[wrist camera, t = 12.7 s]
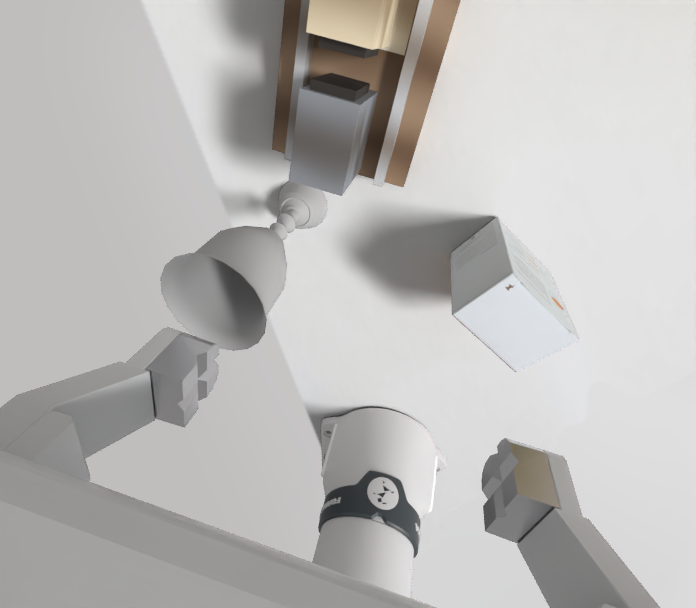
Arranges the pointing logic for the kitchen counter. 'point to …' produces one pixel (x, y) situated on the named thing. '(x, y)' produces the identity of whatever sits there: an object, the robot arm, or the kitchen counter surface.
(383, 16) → the birch finger
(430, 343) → the kitchen counter surface
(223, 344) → the chalice
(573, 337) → the small box
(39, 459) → the robot arm
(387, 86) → the rail board
